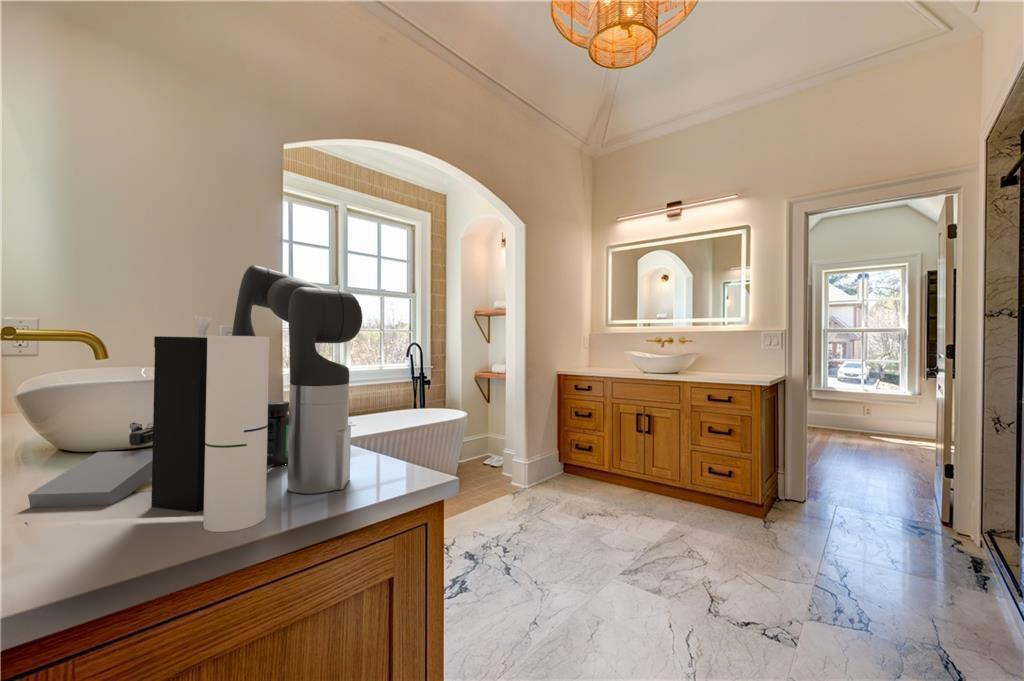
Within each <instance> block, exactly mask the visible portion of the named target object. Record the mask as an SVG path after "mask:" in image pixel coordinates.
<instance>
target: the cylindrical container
mask: <svg viewBox="0 0 1024 681" xmlns="http://www.w3.org/2000/svg"><path fill="white" fill-rule="evenodd" d="M206 337H207V382H206V429H205V443H206V444H205V477H204V510H203V526H202V527H203V529H205V531H209V532H213V533H215V532H216V533H225V532H228V533H229V532H234V531H240V530H244V529H247V528H250V527H253V526H255V525H258V524H260V523H262V522H263V521H264V520H265V518H266V513H267V510H266V509H267V474H268V473H267V472H268V471H267V470H268V469H267V467H268V465H267V425H268V402H269V379H270V378H269V377H270V376H269V373H270V372H269V371H270V336H263V335H262V336H257V335H255V336H232V335H213V334H212V335H210V334H207V336H206Z"/></svg>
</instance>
